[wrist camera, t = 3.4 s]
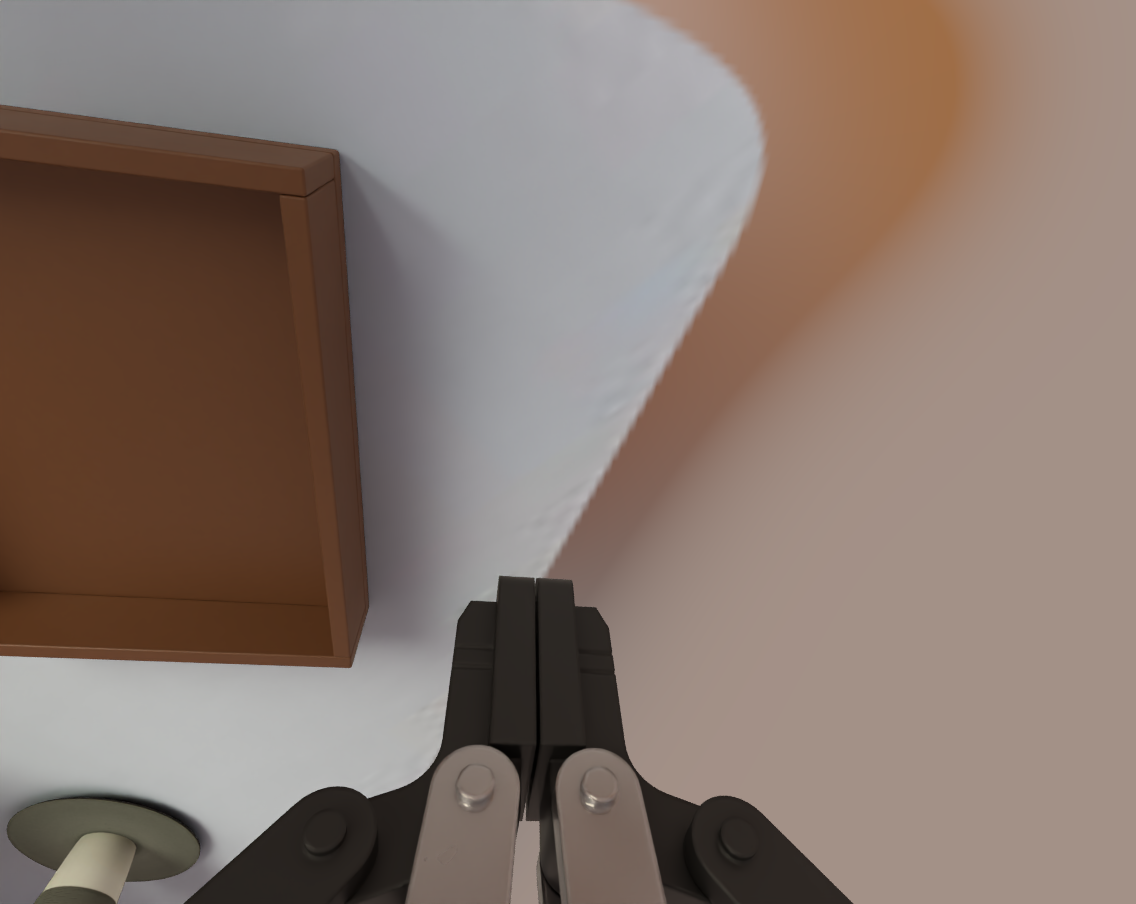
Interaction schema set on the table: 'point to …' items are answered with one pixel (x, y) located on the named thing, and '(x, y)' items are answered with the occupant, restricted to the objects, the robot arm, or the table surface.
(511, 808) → the robot arm
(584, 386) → the table surface
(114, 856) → the olive disc with post
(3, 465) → the tray
